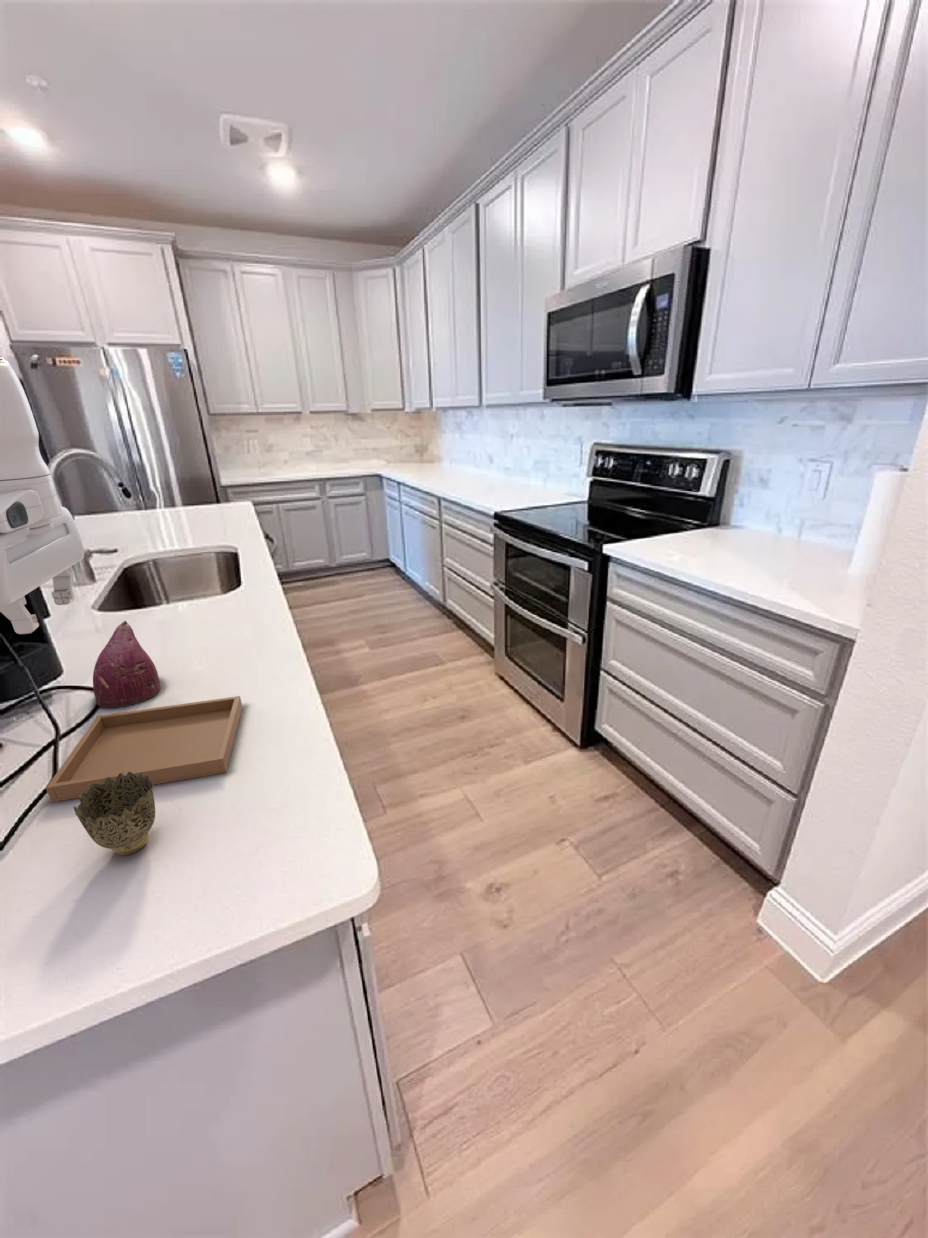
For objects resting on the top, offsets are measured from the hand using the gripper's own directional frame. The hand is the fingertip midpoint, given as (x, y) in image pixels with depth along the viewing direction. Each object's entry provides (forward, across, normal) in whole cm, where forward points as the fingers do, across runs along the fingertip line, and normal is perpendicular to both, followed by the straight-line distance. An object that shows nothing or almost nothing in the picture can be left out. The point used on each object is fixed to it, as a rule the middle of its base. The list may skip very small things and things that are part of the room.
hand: (48, 616), depth 63 cm
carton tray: (+24, -5, +6) cm, 26 cm away
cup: (+24, +15, +8) cm, 30 cm away
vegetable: (+25, -24, -4) cm, 35 cm away
